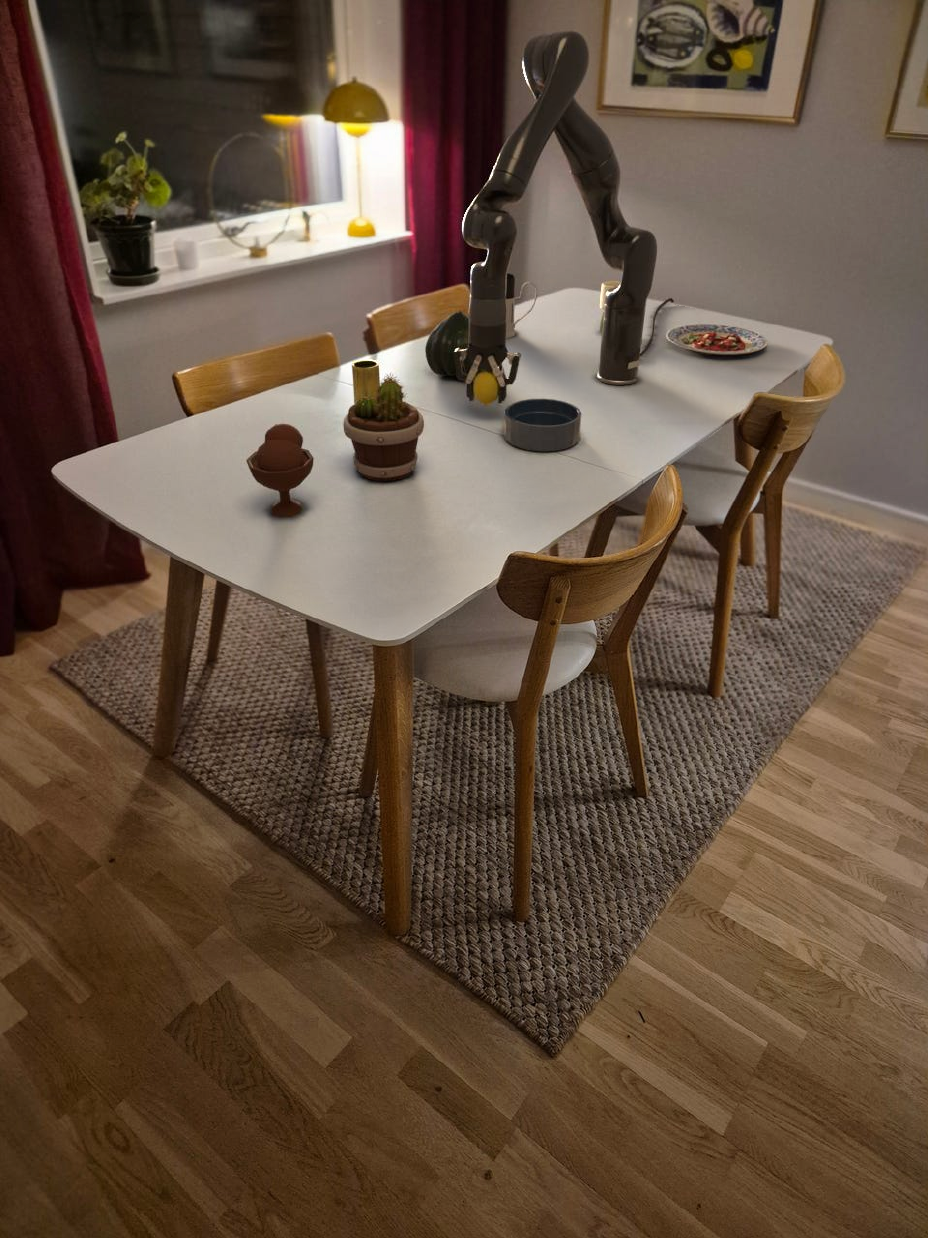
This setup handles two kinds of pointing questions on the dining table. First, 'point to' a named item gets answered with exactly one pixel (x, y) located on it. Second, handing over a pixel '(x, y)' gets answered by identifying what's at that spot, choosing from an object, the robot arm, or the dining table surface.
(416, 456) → the flowerpot
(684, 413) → the dining table surface
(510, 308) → the glass holder
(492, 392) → the lemon
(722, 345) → the ceramic plate
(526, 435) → the bowl
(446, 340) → the squash
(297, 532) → the dining table surface
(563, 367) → the dining table surface
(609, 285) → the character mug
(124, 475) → the dining table surface
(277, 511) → the ice cream bowl
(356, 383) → the vase
